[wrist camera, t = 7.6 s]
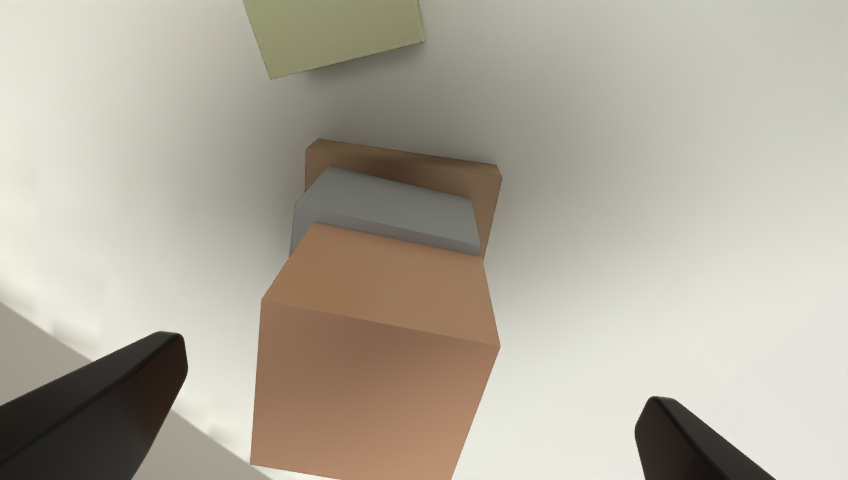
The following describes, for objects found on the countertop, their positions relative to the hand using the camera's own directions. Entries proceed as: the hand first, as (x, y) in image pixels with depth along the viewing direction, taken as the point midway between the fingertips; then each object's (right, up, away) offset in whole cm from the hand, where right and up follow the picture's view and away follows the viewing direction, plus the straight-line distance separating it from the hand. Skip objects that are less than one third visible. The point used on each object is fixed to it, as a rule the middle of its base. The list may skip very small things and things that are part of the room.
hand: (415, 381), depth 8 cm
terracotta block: (-1, 0, +7) cm, 7 cm away
